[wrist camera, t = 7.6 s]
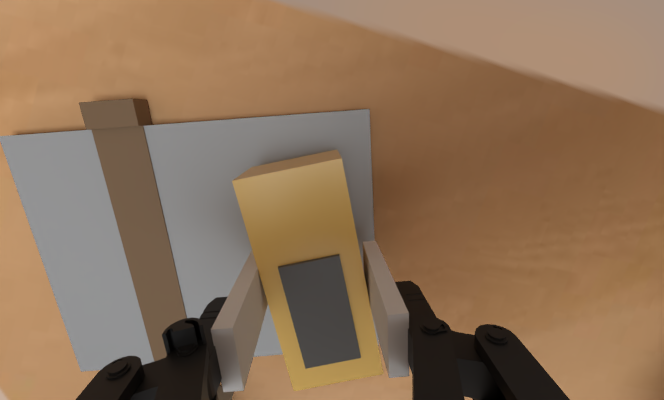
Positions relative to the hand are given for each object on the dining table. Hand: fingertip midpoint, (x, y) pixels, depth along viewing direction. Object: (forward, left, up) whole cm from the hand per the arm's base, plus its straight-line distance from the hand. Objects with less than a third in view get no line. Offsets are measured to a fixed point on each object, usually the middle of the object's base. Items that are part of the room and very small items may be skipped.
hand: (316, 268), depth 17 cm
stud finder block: (0, 0, -2) cm, 2 cm away
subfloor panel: (+7, 0, -4) cm, 8 cm away
